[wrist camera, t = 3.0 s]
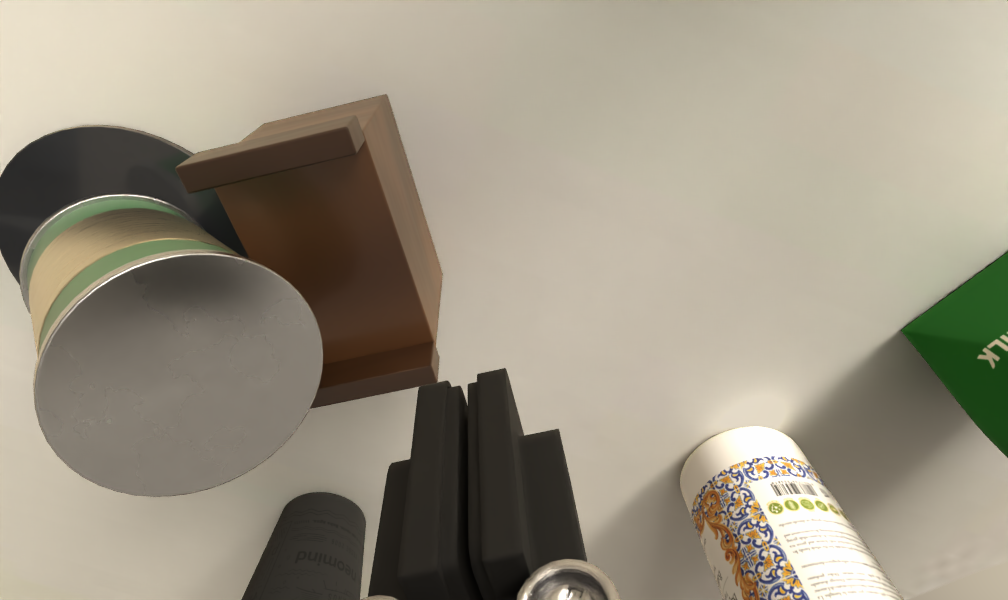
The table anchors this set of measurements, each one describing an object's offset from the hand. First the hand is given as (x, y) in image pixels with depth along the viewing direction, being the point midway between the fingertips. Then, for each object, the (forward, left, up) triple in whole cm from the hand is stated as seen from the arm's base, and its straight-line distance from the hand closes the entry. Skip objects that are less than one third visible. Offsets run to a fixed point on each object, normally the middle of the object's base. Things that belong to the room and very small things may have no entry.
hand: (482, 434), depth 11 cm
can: (0, -11, -8) cm, 13 cm away
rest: (0, -5, -15) cm, 16 cm away
